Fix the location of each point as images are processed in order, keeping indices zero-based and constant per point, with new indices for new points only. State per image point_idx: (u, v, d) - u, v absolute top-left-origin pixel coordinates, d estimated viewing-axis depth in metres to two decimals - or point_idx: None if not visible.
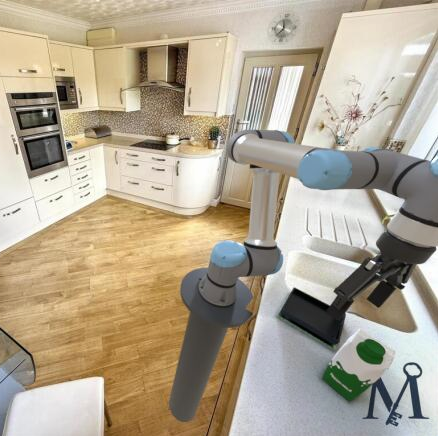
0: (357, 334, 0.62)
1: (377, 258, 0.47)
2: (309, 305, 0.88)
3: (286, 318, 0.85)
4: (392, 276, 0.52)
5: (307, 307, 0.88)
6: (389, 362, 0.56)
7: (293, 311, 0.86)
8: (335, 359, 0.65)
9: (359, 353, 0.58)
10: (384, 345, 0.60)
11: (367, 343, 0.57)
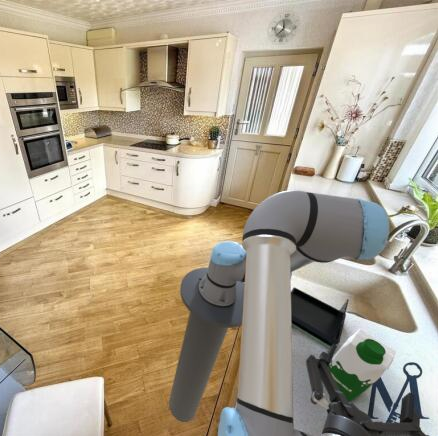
0: (357, 334, 0.62)
1: (330, 407, 0.46)
2: (309, 305, 0.88)
3: None
4: None
5: (307, 307, 0.88)
6: (389, 362, 0.56)
7: (293, 311, 0.86)
8: (335, 359, 0.65)
9: (359, 353, 0.58)
10: (384, 345, 0.60)
11: (367, 343, 0.57)
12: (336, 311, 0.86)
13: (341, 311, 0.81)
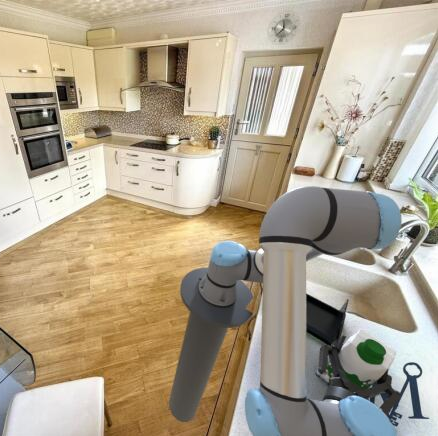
0: (357, 334, 0.62)
1: (329, 381, 0.57)
2: (309, 305, 0.88)
3: None
4: None
5: (307, 307, 0.88)
6: (389, 362, 0.56)
7: None
8: None
9: (359, 353, 0.58)
10: (384, 345, 0.60)
11: (368, 343, 0.57)
12: (336, 311, 0.86)
13: (341, 311, 0.81)
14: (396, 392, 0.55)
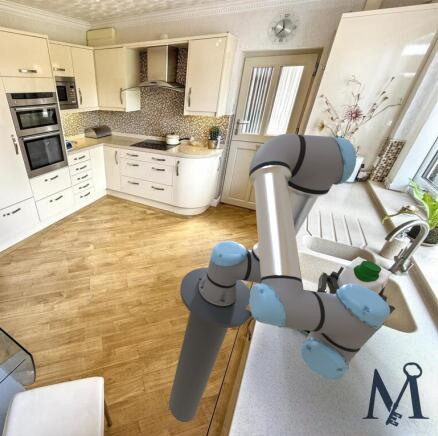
0: (355, 260, 0.65)
1: None
2: None
3: None
4: None
5: None
6: (384, 279, 0.59)
7: None
8: None
9: (356, 274, 0.62)
10: (380, 268, 0.63)
11: (364, 263, 0.61)
12: None
13: None
14: (390, 306, 0.59)
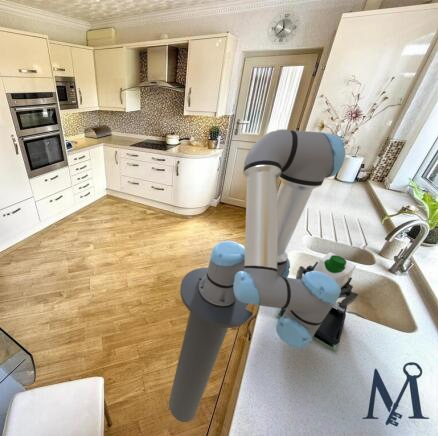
0: (326, 255, 0.77)
1: None
2: None
3: None
4: None
5: None
6: (349, 270, 0.71)
7: None
8: None
9: (326, 266, 0.73)
10: (347, 261, 0.75)
11: (332, 257, 0.72)
12: (336, 311, 0.86)
13: None
14: (354, 293, 0.70)
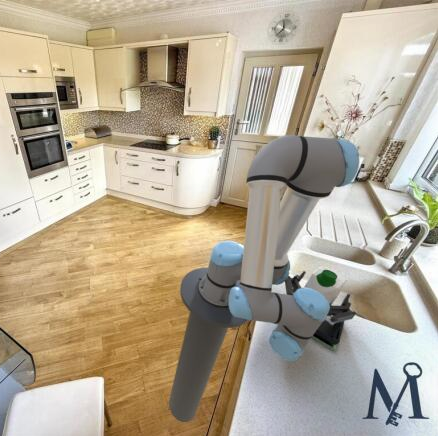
0: (319, 269, 0.79)
1: None
2: None
3: None
4: None
5: None
6: (340, 284, 0.73)
7: None
8: None
9: (318, 280, 0.76)
10: (338, 275, 0.77)
11: (324, 272, 0.75)
12: None
13: None
14: (352, 311, 0.71)
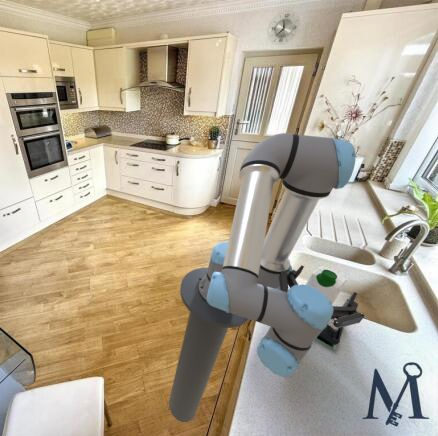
0: (318, 268, 0.80)
1: None
2: None
3: None
4: None
5: None
6: (340, 284, 0.73)
7: None
8: None
9: (318, 280, 0.76)
10: (338, 275, 0.77)
11: (324, 272, 0.75)
12: None
13: None
14: (360, 313, 0.58)
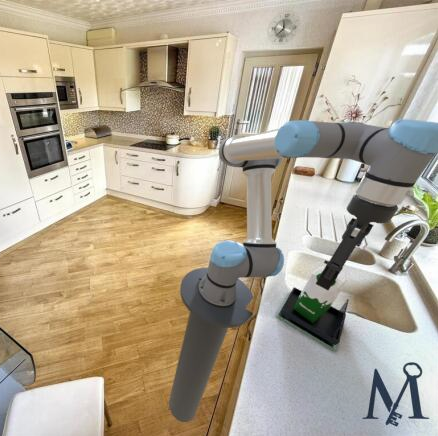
0: (318, 268, 0.80)
1: (355, 224, 0.50)
2: None
3: (286, 318, 0.85)
4: None
5: None
6: (340, 284, 0.73)
7: (293, 311, 0.86)
8: (303, 290, 0.83)
9: None
10: (338, 275, 0.77)
11: None
12: (336, 311, 0.86)
13: (341, 311, 0.81)
14: None
